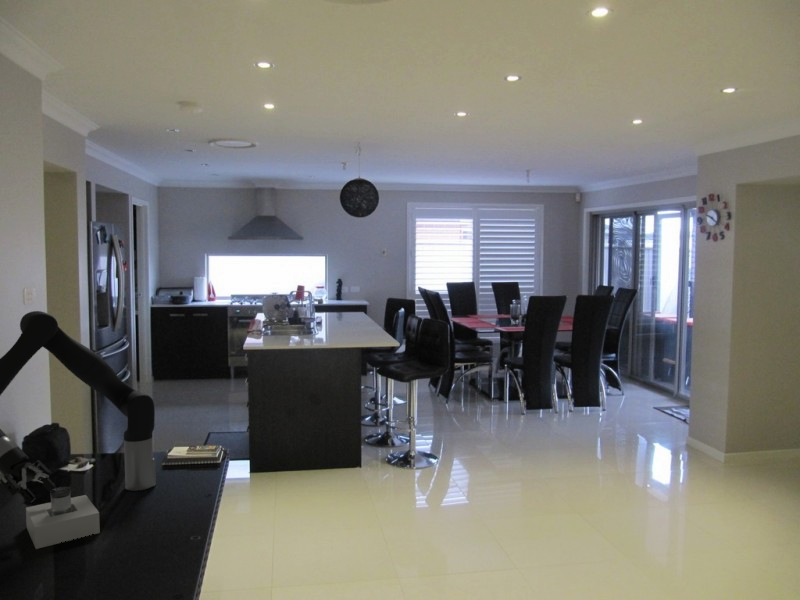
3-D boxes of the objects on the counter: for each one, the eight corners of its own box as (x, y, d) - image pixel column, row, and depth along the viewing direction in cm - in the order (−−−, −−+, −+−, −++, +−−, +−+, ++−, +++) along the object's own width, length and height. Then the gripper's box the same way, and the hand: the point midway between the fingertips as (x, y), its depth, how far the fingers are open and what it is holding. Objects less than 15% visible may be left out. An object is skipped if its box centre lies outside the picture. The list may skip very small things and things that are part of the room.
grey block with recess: (86, 513, 189) (85, 494, 189) (99, 532, 175) (99, 512, 175) (26, 527, 180) (25, 507, 179) (35, 549, 165) (35, 527, 165)
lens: (70, 518, 181) (68, 485, 180) (73, 524, 177) (72, 490, 176) (50, 522, 178) (48, 489, 177) (53, 529, 174) (51, 494, 173)
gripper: (-5, 453, 171) (34, 495, 170) (31, 439, 185) (67, 478, 184) (-22, 471, 171) (17, 513, 171) (15, 456, 186) (52, 494, 185)
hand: (43, 495), depth 177 cm, fingers open, 8 cm apart
